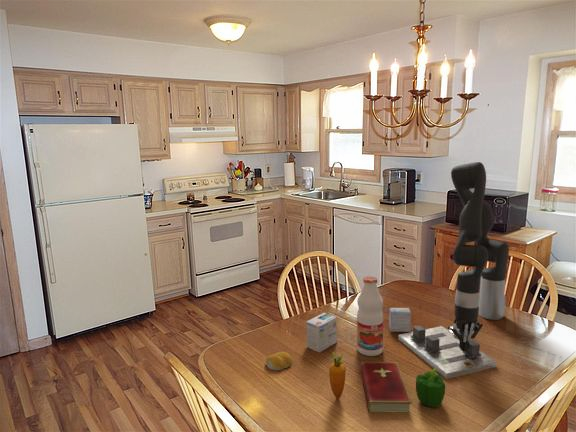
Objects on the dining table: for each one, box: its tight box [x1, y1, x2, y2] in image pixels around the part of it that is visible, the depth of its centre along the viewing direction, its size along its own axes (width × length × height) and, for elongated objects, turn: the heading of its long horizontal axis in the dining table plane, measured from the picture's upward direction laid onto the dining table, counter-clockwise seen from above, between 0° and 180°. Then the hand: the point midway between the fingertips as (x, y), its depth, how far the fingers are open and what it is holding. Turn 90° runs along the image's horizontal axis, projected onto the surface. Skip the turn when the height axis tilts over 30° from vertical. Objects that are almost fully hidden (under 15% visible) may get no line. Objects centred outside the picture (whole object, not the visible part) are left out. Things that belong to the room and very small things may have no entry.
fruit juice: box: [356, 275, 384, 357], centre depth 149 cm, size 9×9×28 cm
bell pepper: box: [415, 368, 446, 409], centre depth 120 cm, size 8×8×10 cm
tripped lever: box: [463, 339, 481, 358], centre depth 141 cm, size 4×4×4 cm
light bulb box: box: [305, 312, 338, 353], centre depth 156 cm, size 11×7×11 cm, turn 134°
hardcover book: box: [360, 361, 412, 414], centre depth 127 cm, size 12×21×4 cm, turn 176°
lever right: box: [411, 325, 426, 342], centre depth 153 cm, size 4×4×4 cm
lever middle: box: [424, 335, 441, 352], centre depth 146 cm, size 4×4×4 cm
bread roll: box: [265, 351, 293, 371], centre depth 144 cm, size 8×9×4 cm
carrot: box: [328, 352, 347, 400], centre depth 123 cm, size 5×5×15 cm
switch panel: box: [397, 325, 497, 380], centre depth 148 cm, size 20×28×2 cm
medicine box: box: [388, 307, 412, 333], centre depth 166 cm, size 8×4×9 cm, turn 84°
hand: (463, 350), depth 141 cm, fingers closed
